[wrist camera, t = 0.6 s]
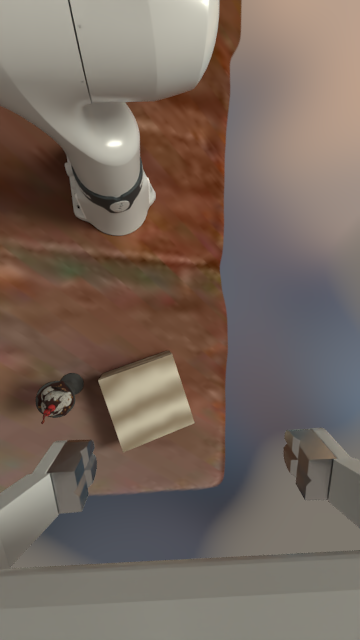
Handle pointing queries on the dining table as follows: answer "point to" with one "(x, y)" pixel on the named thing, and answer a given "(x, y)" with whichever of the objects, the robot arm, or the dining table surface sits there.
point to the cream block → (145, 400)
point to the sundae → (58, 396)
